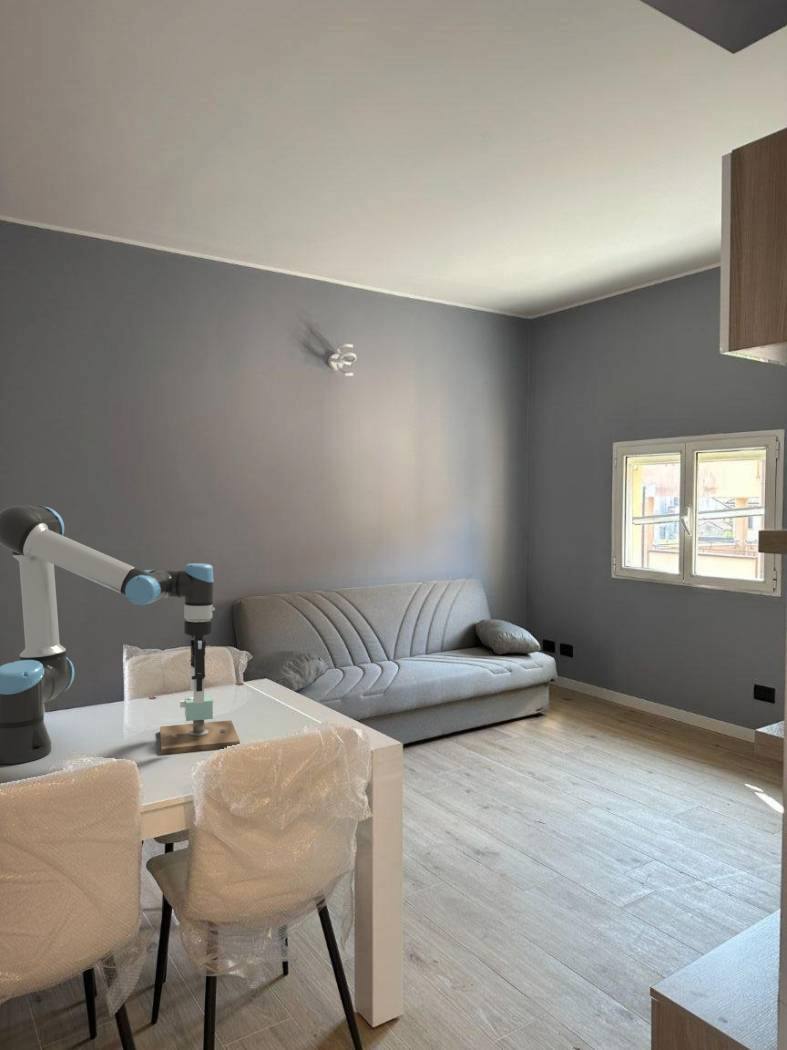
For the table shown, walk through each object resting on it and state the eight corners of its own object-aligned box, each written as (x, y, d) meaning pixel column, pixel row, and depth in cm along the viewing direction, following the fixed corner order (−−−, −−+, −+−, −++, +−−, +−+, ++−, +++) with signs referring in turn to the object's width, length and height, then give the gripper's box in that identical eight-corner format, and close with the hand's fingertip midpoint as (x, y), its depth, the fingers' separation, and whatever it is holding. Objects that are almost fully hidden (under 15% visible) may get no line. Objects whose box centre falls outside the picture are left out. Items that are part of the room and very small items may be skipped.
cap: (210, 711, 205) (210, 693, 205) (212, 718, 199) (212, 699, 199) (179, 714, 203) (179, 695, 203) (180, 721, 196) (180, 702, 196)
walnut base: (161, 754, 188) (161, 731, 188) (160, 731, 207) (160, 710, 207) (239, 746, 195) (239, 724, 195) (231, 725, 214) (231, 705, 214)
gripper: (216, 626, 190) (214, 707, 190) (208, 612, 213) (207, 684, 214) (186, 627, 187) (185, 709, 188) (182, 613, 211) (180, 685, 211)
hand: (196, 696), depth 201 cm, fingers open, 13 cm apart
